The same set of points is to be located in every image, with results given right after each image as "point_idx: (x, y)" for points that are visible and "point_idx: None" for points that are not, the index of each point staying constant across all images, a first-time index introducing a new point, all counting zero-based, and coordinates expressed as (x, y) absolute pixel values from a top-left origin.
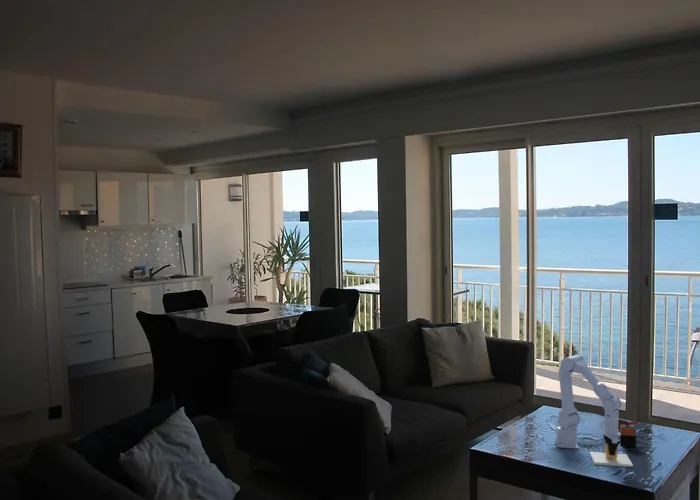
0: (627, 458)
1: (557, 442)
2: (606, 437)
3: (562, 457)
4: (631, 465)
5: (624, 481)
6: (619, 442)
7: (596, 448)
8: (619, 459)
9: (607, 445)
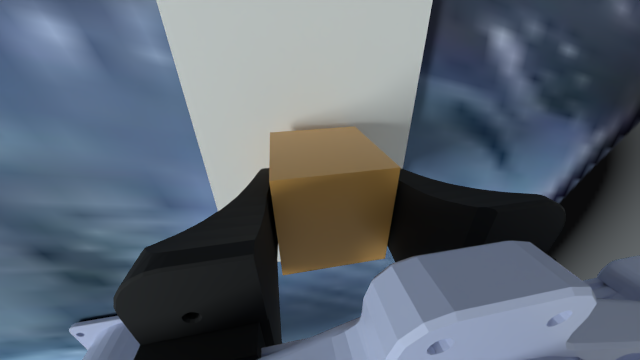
0: (287, 8)
1: None
2: (280, 336)
3: (321, 332)
4: (427, 9)
5: (592, 119)
6: (559, 205)
7: (100, 225)
8: (327, 98)
9: (348, 255)
